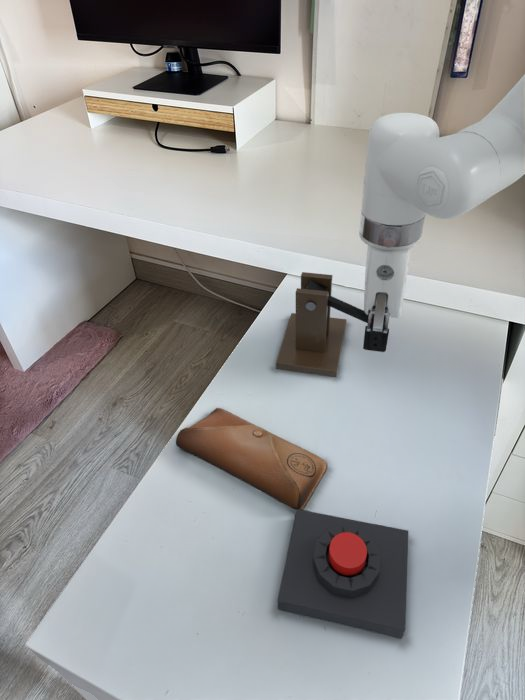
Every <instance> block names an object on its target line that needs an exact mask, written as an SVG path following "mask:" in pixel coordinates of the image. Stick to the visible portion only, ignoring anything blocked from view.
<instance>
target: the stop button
mask: <svg viewBox="0 0 525 700" xmlns="http://www.w3.org/2000/svg"><path fill="white" fill-rule="evenodd" d="M366 556H367V548H366V545H365V543H364V542H363V540H362V539H361V538H360V537H359V536H357V535H355V534H353V533H349V532H344V533H340V534H338V535H336V536H335V537H334V538H333V539H332V541H331V543H330V547H329V562H330V564H331V566H332V567H333V569H334V570H335V571H337V572H338V573H340V574H342V575H346V576H352V575H356V574H358V573H359V572H360V571H361V570H362V569H363V567H364V565H365V561H366Z"/></svg>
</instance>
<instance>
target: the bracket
mask: <svg viewBox="0 0 525 700" xmlns="http://www.w3.org/2000/svg"><path fill="white" fill-rule="evenodd" d="M309 280H312V281H314V282H317V283H319V284H321V285H323V286H326V287H328V288H327V291H319V290H309V289H305V287H306V285H307V284H308V282H309ZM332 291H333V274H325V273H317V272H316V273H314V272H306V271H302V272H301V275H300V287H298V288H296V290H295V312H291V314H290V316H289V319H288V322H287V326H286V329H285V332H284V336H283V339H282V342H281V345H280V348H279V351H278V355H277V357H276V361H275V369H277V370H283V371H290V372H297V373H298V372H299V373H304V374H305V373H306V374H313V375H320V376H327V377H337V376H338V372H339V371H338V370H339V367H340V366H339V365H340V361H341V354H342V349H343V343H344V340H345V339H344V338H345V332H346V328H347V320H348V319H347V318H340V317H339V318H338V317H331V310H332V309H331V308H332V307H330V306H328V295H330V296H332V293H333V292H332Z"/></svg>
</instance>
